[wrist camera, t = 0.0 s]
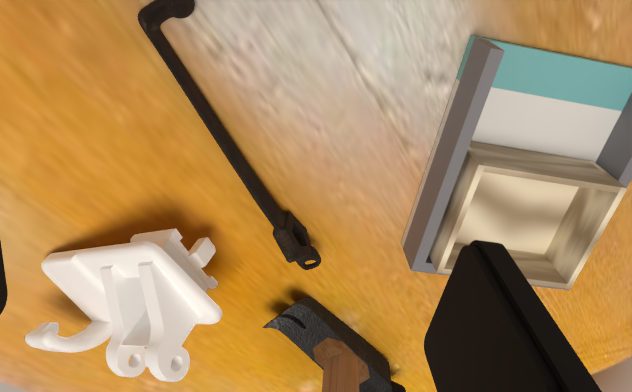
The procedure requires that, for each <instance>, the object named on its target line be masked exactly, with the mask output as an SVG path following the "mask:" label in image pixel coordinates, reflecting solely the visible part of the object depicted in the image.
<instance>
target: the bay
mask: <svg viewBox="0 0 632 392" xmlns="http://www.w3.org/2000/svg"><path fill="white" fill-rule="evenodd" d="M471 141H473V142H479V143H485V144H491V145H497V146H503V147H509V148H515V149H521V150H527V151H533V152H540V153H546V154H552V155H558V156H564V157H570V158H576V159H582V160H588V161H594V162H595V163H596V164H597V165H599V166H600V167H601V168H602V169H604V170H605V171H606V172H607V173H609V174H610V175H611V176H612V177H614V178H615V179H616V180H618V181H619V182H620V183H621V184H623V185H624V186H625V187H626V188H627V186H628V185H629V183H630V181H631V179H632V67H628V66H623V65H618V64H613V63H608V62H603V61H598V60H593V59H588V58H583V57H578V56H573V55H568V54H563V53H558V52H553V51H548V50H543V49H538V48H533V47H528V46H523V45H518V44H513V43H508V42H503V41H498V40H493V39H488V38H483V37H478V36H473V35H471V36H470V39H469V42H468V45H467V48H466V51H465V54H464V57H463V60H462V63H461V66H460V69H459V72H458V75H457V78H456V81H455V84H454V87H453V90H452V93H451V96H450V99H449V102H448V105H447V108H446V111H445V114H444V117H443V119H442V122H441V125H440V128H439V131H438V134H437V137H436V140H435V143H434V146H433V149H432V152H431V155H430V158H429V161H428V164H427V167H426V170H425V173H424V176H423V179H422V182H421V185H420V188H419V191H418V194H417V197H416V200H415V203H414V206H413V209H412V212H411V215H410V218H409V221H408V224H407V226H406V229H405V232H404V235H403V238H402V241H401V244H402V247H403V250H404V253H405V255H406V258H407V261H408V264H409V267H410V269H411V271H418V272H426V273H434V274H442V275H451V274H444V273H436V270H435V268H434V266H433V263H432V261H431V259H430V256H429V252H430V249H431V247H432V244H433V241H434V239H435V236H436V233H437V231H438V228H439V225H440V223H441V220H442V217H443V215H444V212H445V209H446V207H447V204H448V201H449V199H450V196H451V193H452V191H453V188H454V185H455V183H456V180H457V177H458V175H459V172H460V169H461V167H462V164H463V161H464V159H465V156H466V153H467V151H468V148H469V145H470V142H471ZM530 285H531V286H539V287H547V288H555V289H564V290H569V289H565V288H557V287H549V286H541V285H533V284H530Z"/></svg>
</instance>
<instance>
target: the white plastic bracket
mask: <svg viewBox="0 0 632 392" xmlns="http://www.w3.org/2000/svg"><path fill="white" fill-rule="evenodd" d="M182 238H183V237H182V236H181V234H180V233H179V232H178V231H177V229H176V228H174V229H168V230H161V231H154V232H147V233H140V234H134V235H133V237H132V238H131V239H130V243H125V244H117V245H110V246H102V247H95V248H87V249H80V250H72V251H65V252H58V253H51V254H49V255H48V256H47V257H46V258H45V259H44V260H43V262H42V264H41V267H42V270H43V272H44V273H45V274H46V275H47V276H48V277H49V278H50V279H51V280H52V281H53V282H54V283H55V284H56V285H57V286H58V287H59V288H60V289H61V290H62V291H63V292H64V293H65V294H66V295H67V296H68V297H69V298H70V299H71V300H72V301H73V302H74V303H75V304H76V305H77V306H78V307H79V308H80V309H81V310H82V311H83V312H84V313H85V314H86V315H87V316H88V317H89V318H90V319H91V320H92V322H91V324H90V325H89V326H88V327H86V328H85V329H84V330H82V331H81V332H79V333H77V334H75V335H73V336H70V337H65V338H64V337H61V336H59V335H57V333H58V332H59V324H58V323H57V322H46V323H41V324H40V325H39V326H38V327H37V328H36V329H35V330H34V331H30V332H29V333H27V335H26V336H25V341H26V343H27V344H29V345H30V346H31V347H34V348H39V349H42V350H47V351H57V352H81V351H85V350H89V349H91V348H94V347H96V346H98V345H100V344H102V343H103V342H104V341H106V340H107V339H108V338H110V337H111V340H110V342H109V344H108V346H107V349H106V361H107V364H108V366H109V367H110V369H111V370H112V371H113V372H114V373H115V374H116V375H118V376H123V377H136V376H138V375H140V374H141V373H142V372H143V371H144V369H145V367H148V368H149V370H150V371H151V373H152V374H153V375H154V376H155V377H156V378H157V379H159V380H161V381H169V382H177V381H180V380H181V379H183V378H184V376H185V375H186V374H187V372H188V369H189V365H190V358H189V354H188V352H187V350H186V349H185V348H183V347H181V346H182V344H183V343H184V341H185V339H186V338H187V336H188V335H189V333H190V332H191V330H192V329H193V327H194V326H195V324H215V323H217V322H218V321H219V320H220V319H221V317H222V311H221V309H220V307H219V306H218V305H217V304H216V303H215V302H214V301H213V300H212V299H211V298H210V297H209V296H208V295H207V294H206V293H205V292H206V291H207V289H215V288H216V287H217V285H218V282H217V281H216V280H215V278H214V277H213V276H207V275H206V274H205V273H204V271H203V270H202V269H201V268H203V267H205V266H206V265H207V263H208V262H209V261H210V259H211V258H212V256H213V255H214V254H215V252H216V250H215V246H214V245H213V243H212V242H211V240H210V239H209V238H208V237H206V238H200V239H198V240H197V241H196V242H195V244H194V245H193V246H192V248H191V249H190V250H189V252H188V251H187V249H186V248H185V247H184V246H183V244H182V243H181V242H180V240H181V239H182ZM144 347H146V350H145V348H144ZM130 356H131V362H130V364H128V360H129V357H130ZM171 361H172V364H171Z"/></svg>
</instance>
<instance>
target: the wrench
mask: <svg viewBox="0 0 632 392" xmlns="http://www.w3.org/2000/svg"><path fill="white" fill-rule="evenodd" d="M194 6H195V5H194V0H155V1H154V2H152V3H151V4H149V5H147V6H146V7H145V8H143V9H142V10H141V11H140V12H139V14H138V21H139V23H140V25H141V27H142V29H143V30H144V32H145V33H146V35H147V36H148V38H149V39H150V41H151V42H152V43H153V45H154V46H155V48H156V49H157V51H158V53H159V54H160V56H161V57H162V59H163V60H164V62H165V63H166V65H167V66H168V68H169V69H170V71H171V72H172V74H173V75H174V77H175V78H176V80H177V82H178V83H179V85H180V86H181V88H182V89H183V91H184V92H185V94H186V95H187V97H188V98H189V100H190V101H191V103H192V105H193V106H194V108H195V109H196V111H197V113H198V114H199V116H200V117H201V119H202V120H203V122H204V123H205V125H206V126H207V128H208V130H209V131H210V133H211V134H212V136H213V137H214V139H215V140H216V142H217V144H218V145H219V147H220V148H221V150H222V151H223V153H224V154H225V156H226V157H227V159H228V160H229V162H230V163H231V165H232V166H233V168H234V169H235V171H236V172H237V174H238V175H239V177H240V178H241V180H242V182H243V183H244V184H245V186H246V188H247V189H248V191H249V192H250V194H251V195H252V197H253V199H254V200H255V201H256V203H257V204H258V206H259V207H260V209H261V210H262V211H263V213H264V214H265V216H266V217H267V218H268V220H269V221H270V222H271V224H272V225H273V227H274V230H273V236H274V238H275V240H276V242H277V244H278V245H279V247H280V249H281V251H282V253H283V254H284V256H285V258H286V260H287V261H288V262H289V263H291V262H294V261H296V262H297V263H298V265H299V266H300V267H301V268H303V269H305V270H309V269H313V268H315V267H317V266H319V264H320V263H321V258H320V255H319V254H318V252H317V250H316V249H315V248H314V247H313V246H311V244H310V241H309V237H308V234H307V229H306V228H305V227H304V226H303V225H302V224H301V223H300V222H299V221H298V220H297V219H296V218H295V217H293V216H292V214H291V213H289V212H287V213H284V212H282V211H281V209H280V208H279V207H278V205H277V204H276V202H275V201H274V200H273V198H272V197H271V196H270V194H269V193H268V192H267V190H266V189H265V187H264V186H263V185H262V183H261V182H260V180H259V179H258V177H257V176H256V175H255V173H254V172H253V170H252V169H251V167H250V166H249V164H248V163H247V162H246V160H245V159H244V157H243V156H242V154H241V153H240V151H239V150H238V148H237V147H236V145H235V144H234V142H233V141H232V140H231V138H230V136H229V135H228V134H227V132H226V131H225V129H224V127H223V126H222V124H221V123H220V121H219V120H218V118H217V117H216V115H215V114H214V112H213V111H212V109H211V108H210V106H209V104H208V103H207V101H206V100H205V98H204V97H203V95H202V94H201V92H200V91H199V89H198V88H197V86H196V85H195V83H194V82H193V80H192V79H191V77H190V76H189V74H188V73H187V71H186V70H185V68H184V66H183V65H182V63H181V62H180V61H179V59H178V57H177V56H176V54H175V53H174V51H173V50H172V48H171V47H170V45H169V44H168V42H167V40H166V39H165V37H164V36H163V34H162V33H161V31H160V29H159V26H160V24H161V23H162V22H164V21H165V20H167V19H169V18H171V17H176V18H186V17H188V16H189V15H190V14H191V13H192V12H193V9H194ZM309 260H315V261H316V262H315V263H312V264H308V265H306V264H305V262H306V261H309Z"/></svg>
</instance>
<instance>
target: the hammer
mask: <svg viewBox="0 0 632 392" xmlns="http://www.w3.org/2000/svg"><path fill="white" fill-rule="evenodd" d="M263 328H274V329H277V330H279V331H281V332H282V333H283V334H285V335H286V336H287V337H288V338H289V339H290V340H291V341H292V342H294V343H295V344H296V345H297V346H298V347H299V348H300V349H301V350H302V351H304V352H305V353H306V354H307V355H308V356H309V357H310V358H311V359H312V360H313V361H314V362H315V363H316V364H317V365H319V366H320V367H321V368H322V369H323V370H324V373H323V386H322V392H406V390H405V388H404V387H403V386H402V385H400V384H398V383H395V382H393V381H391V377H390V368H389V362H388V361H386V360H385V359H384V358H383V357H382V356H381V355H380V354H379V353H378V352H377V351H376V350H375V349H374V348H373V347H372V346H371V345H370V344H368V343H367V342H366V341H365V340H364V339H363V338H362V337H361V336H360V335H359V334H357V333H356V332H355V331H354V330H352V329H351V328H350V327H349V326H347V325H346V324H345V323H344V322H342V321H341V320H340V319H339V318H337V317H336V316H335V315H334V314H332V313H331V312H330V311H329V310H327V309H326V308H325V307H324V306H322V305H321V304H320V303H319V302H317V301H316V300H314V299H311V298H302V299H301V300H298V301H297V302H296V303H294V304H293V305H291V306H290V307H289V308H287V309H286V310H285V311H283V312H282V313H281V314H279V315H278V316H277V317H275V318H274V319H273V320H271V321H270V322H269V323H267V324H266V325H265V326H264V327H263Z"/></svg>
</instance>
